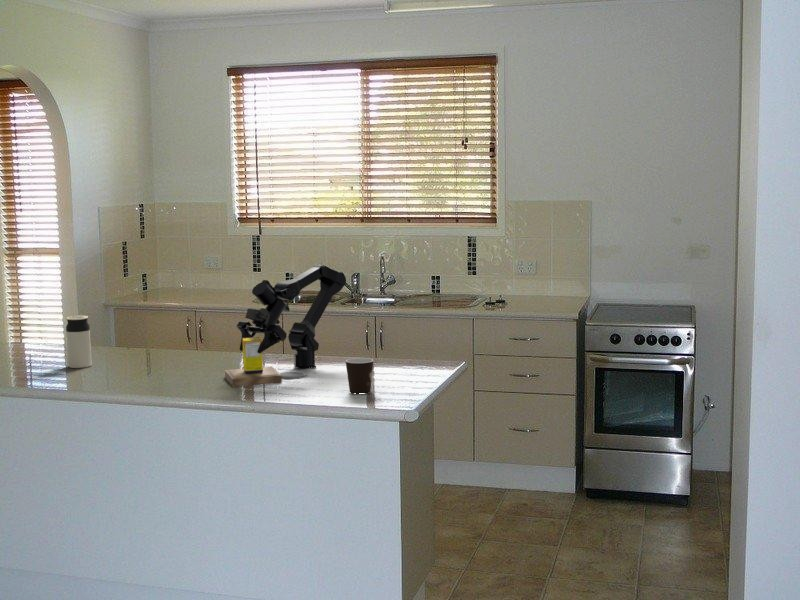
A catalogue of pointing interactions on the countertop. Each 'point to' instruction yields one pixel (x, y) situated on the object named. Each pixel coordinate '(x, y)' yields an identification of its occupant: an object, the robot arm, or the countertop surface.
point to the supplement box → (252, 355)
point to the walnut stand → (252, 377)
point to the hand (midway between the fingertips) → (249, 351)
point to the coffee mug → (359, 374)
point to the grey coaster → (292, 375)
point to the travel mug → (78, 342)
